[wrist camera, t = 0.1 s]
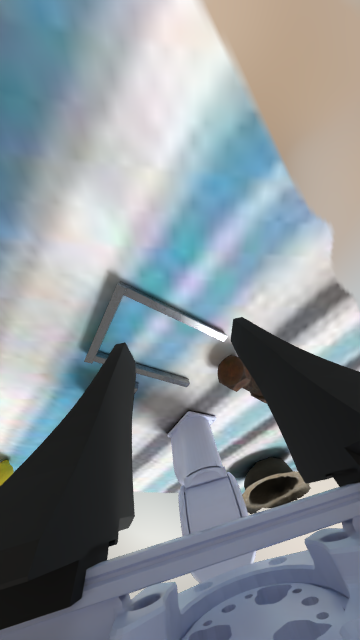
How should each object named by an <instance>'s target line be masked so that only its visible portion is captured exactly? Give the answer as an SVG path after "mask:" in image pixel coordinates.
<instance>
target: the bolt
mask: <svg viewBox="0 0 360 640" xmlns="http://www.w3.org/2000/svg"><path fill="white" fill-rule="evenodd" d="M218 379H219V382H220V383H222V384H223V385H225V386H227V387H228V388H230V389H232V390H234V391H236V392H237V391H238V390H239V389H241V388H244V389H246V390H248V391H250V393H251V396H253V397H255V398H257V399H259V400H260V401H262V402H264V403H267V402H266V400H265V398H264V396H263V395H262V393H261V391H260V389H259V387H258V386H257V384H256V382H255V381H254V379H253V378H252V376H251V375H250V373H249V371H248V370H247V368H246V367H245V365H244V364H243V362H242V361H241V359H240V358H239V357H236V356H233V355H230V356H228V357H227V358H225V359H224V360H223V361H222V362H221V363H220V365H219V367H218Z"/></svg>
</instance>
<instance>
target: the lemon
mask: <svg viewBox="0 0 360 640" xmlns="http://www.w3.org/2000/svg"><path fill="white" fill-rule="evenodd" d="M12 474H13V467H12V466H11V465H10V464H9V460H4V461H3V462H1V463H0V486H1V485H2V484H3V483H4V482H5V481H6V480H7V479H8V478H9V477H10V476H11V475H12Z"/></svg>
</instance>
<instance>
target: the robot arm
mask: <svg viewBox="0 0 360 640" xmlns="http://www.w3.org/2000/svg"><path fill="white" fill-rule="evenodd" d="M231 342H232V345H233V347H234V349H235V351H236V353H237V354H238V356H239V358H240V359H241V361H242V362H243V364H244V365H245V367H246V368H247V370H248V371H249V373H250V375H251V376H252V378H253V379H254V381H255V382H256V384H257V386H258V387H259V389H260V391H261V393H262V395H263V396H264V398H265V400H266V402H267V404H268V406H269V408H270V410H271V412H272V414H273V416H274V418H275V420H276V422H277V424H278V427H279V429H280V431H281V433H282V435H283V437H284V439H285V442H286V444H287V446H288V449H289V451H290V453H291V456H292V458H293V460H294V463H295V465H296V468H297V470H298V472H299V474H300V475H301V477H302V479H303V481H304V482H305V483H306V484H307V483H311V482H316V481H320V480H325V479H329V478H332V477H333V478H334V479H335V481H336V482H337V484H338V485H339V486H340V487H338V488H334V489H331V490H328V491H325V492H322V493H319V494H315V495H312V496H309V497H306V498H303V499H300V500H296V501H293V502H290V503H287V504H284V505H281V506H277V507H274V508H271V509H269V510H265V511H262V512H258V513H255V514H252V515H249V516H248V512H247V509H246V506H245V502H244V499H243V496H242V493H241V491H240V488H239V485H238V483H237V481H236V479H235V477H234V476H233V475H232V474H231V473H230V472H227V473H226V470H225V467H223V465H222V462H221V459H220V456H219V453H218V449H217V446H216V443H215V440H214V437H213V433H212V430H211V427H210V425H211V424H212V423H213V422H214V421H215V420H216V417H215V416H210V415H205V414H200V413H196V412H191V411H188V412H187V413H186V414H185V415H184V416H183V417H182V419H181V420H180V421H179V422H178V423H177V424H176V425H175V427H174V428H173V429H172V430H171V431H170V432H169V433H168V437H171V443H172V454H173V464H174V471H175V475H176V477H177V479H178V481H179V482H180V484H181V485H183V486H181V488H180V491H179V511H180V520H181V528H182V535H183V537H180V538H176V539H174V540H170V541H167V542H164V543H161V544H157V545H154V546H151V547H148V548H145V549H141V550H138V551H136V552H132V553H129V554H126V555H123V556H119V557H116V558H113V559H110V560H107V555H108V547H109V546H112V545H116V544H117V542H118V531H120V530H123V529H126V528H129V526H130V524H131V523H132V521H133V518H134V516H135V515H134V499H133V477H132V411H133V401H134V391H135V380H136V366H135V360H134V358H133V356H132V354H131V353H130V351H129V349H128V347H127V345H126V343H121V344H116V345H115V346H114V348H113V350H112V351H111V353H110V354H109V356H108V358H107V359H106V361H105V363H104V364H103V366H102V367H101V369H100V370H99V372H98V373H97V375H96V377H95V378H94V379H93V381H92V382H91V384H90V385H89V387H88V388H87V389H86V391H85V392H84V394H83V395H82V396H81V398H80V399H79V400H78V402H77V403H76V404H75V406H74V407H73V408H72V409H71V410H70V412H69V413H68V414H67V415H66V417H65V418H64V419H63V420H62V421H61V422H60V424H59V425H58V426H57V427H56V428H55V429H54V430H53V431H52V433H51V434H50V435H49V436H48V437H47V438H46V439H45V440H44V442H43V443H42V444H41V445H40V446H39V447H38V448H37V449H36V450H35V451H34V452H33V453H32V454H31V455H30V457H29V458H28V459H27V460H26V461H25V462H24V463H23V464H22V465H21V466H20V467H19V468H18V469H17V470H16V471H15V472H14V473H13V474H12V475H11V476H10V477H9V478H8V479H7V480H6V481H5V482H4V483H3V484H2V485H1V486H0V640H360V372H358V371H355V370H353V369H350V368H347V367H344V366H341V365H339V364H336V363H333V362H331V361H328V360H326V359H323V358H321V357H318V356H316V355H314V354H311V353H309V352H307V351H304V350H302V349H300V348H298V347H296V346H294V345H292V344H290V343H288V342H286V341H284V340H282V339H280V338H278V337H276V336H274V335H272V334H271V333H269V332H267V331H265V330H264V329H262V328H260V327H258V326H257V325H255V324H253V323H252V322H250V321H248V320H246V319H245V318H243V317H240V318H236V319H233V326H232V333H231ZM340 522H342V525H343V529H337V528H328V529H322V528H325V527H328V526H331V525H334V524H337V523H340ZM319 529H322V530H319ZM316 530H319V531H317V532H315V533H314V534H312V535H311V536H310V537H308V538H306V539H305V544H306V546H307V549H308V550H306V551H302V552H298V553H293V554H289V555H285V556H280V557H276V558H272V559H267V560H263V561H259V562H255V563H254V559H255V555H256V551H257V550H259V549H262V548H266V547H269V546H272V545H275V544H277V543H280V542H283V541H286V540H290V539H293V538H296V537H298V536H302V535H305V534H308V533H310V532H314V531H316ZM188 573H191V574H192V576H193V577H194V578H195V579H196V580H197V581H198V582H199V583H200V584H198V585H196V586H194V587H191V588H189V589H187V590H185V591H183V592H181V593H177V585H176V583H175V582H169V583H161V582H164V581H167V580H170V579H173V578H176V577H179V576H182V575H185V574H188ZM146 587H147V588H146ZM143 588H145V589H144V590H143V591H141V592H140V593H139V594H138V595H136V596H135V597H134V598H133V599H132V600H131V599H130V596H129V593H131V592H134V591H137V590H140V589H143Z"/></svg>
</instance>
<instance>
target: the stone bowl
mask: <svg viewBox="0 0 360 640" xmlns="http://www.w3.org/2000/svg"><path fill="white" fill-rule="evenodd" d="M244 487H245V492H244V493H243V494H242V496H243V499H244V502H245V506H246V509H247V512H249V513H250V514H253V513H254V514H255V513H257V512H256V511H258V510H260V509H261V508H274V507H277V506H281V505H284V504H287V503H290V502H291V501H292V502H293V501H294V500H297V498H301V497H302V496H304V494H306V493H307V492H308V491H309V490H310V487H309V483H307V484H306V483H305V482H304V481H303V479H302V477H301V475H300V474H299V472H295V471H292V470H291V468H290V467H289V466H288V465H287V464H286V463H285V462H284V461H283V460H282V459H277V458H272V457H269V458H268V459H265V460H262V461H259V462H257V463H255V465H254V467H253V468H251V469H250V471H249V472H248V473H247V476H246V478H245V481H244Z"/></svg>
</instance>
